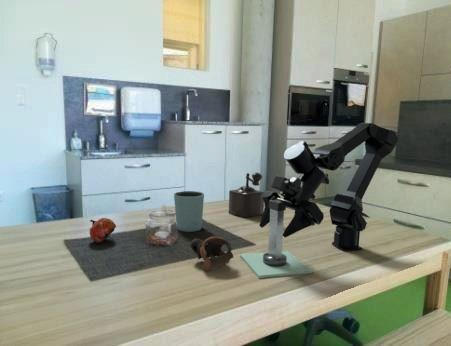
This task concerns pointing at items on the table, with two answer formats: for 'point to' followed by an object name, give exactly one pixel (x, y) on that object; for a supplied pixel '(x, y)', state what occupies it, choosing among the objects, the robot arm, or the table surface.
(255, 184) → the pepper mill
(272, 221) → the square pillar on disc
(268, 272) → the rest mat
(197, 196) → the green cup
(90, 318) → the table surface
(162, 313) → the table surface
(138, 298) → the table surface
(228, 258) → the pottery mug
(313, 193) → the robot arm
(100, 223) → the red ribbed fruit
